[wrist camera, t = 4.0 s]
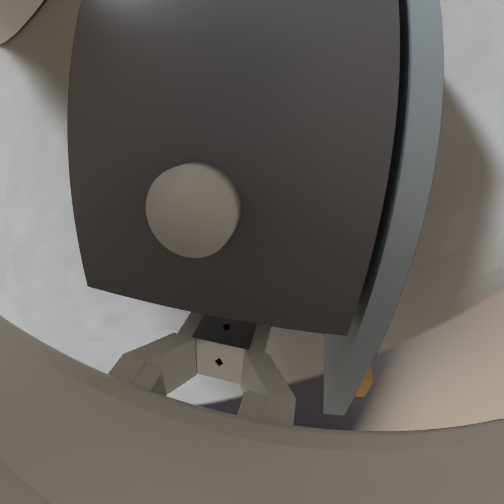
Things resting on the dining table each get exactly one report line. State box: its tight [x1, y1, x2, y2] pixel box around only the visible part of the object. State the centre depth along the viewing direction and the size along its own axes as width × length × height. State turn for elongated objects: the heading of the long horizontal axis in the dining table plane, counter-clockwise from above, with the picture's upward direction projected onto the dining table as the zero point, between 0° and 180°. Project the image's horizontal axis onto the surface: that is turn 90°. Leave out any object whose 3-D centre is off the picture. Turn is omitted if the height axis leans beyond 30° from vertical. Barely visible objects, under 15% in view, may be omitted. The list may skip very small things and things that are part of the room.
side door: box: [323, 0, 444, 415], centre depth 9 cm, size 16×2×8 cm, turn 176°
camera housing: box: [68, 0, 400, 336], centre depth 8 cm, size 14×8×9 cm, turn 176°
